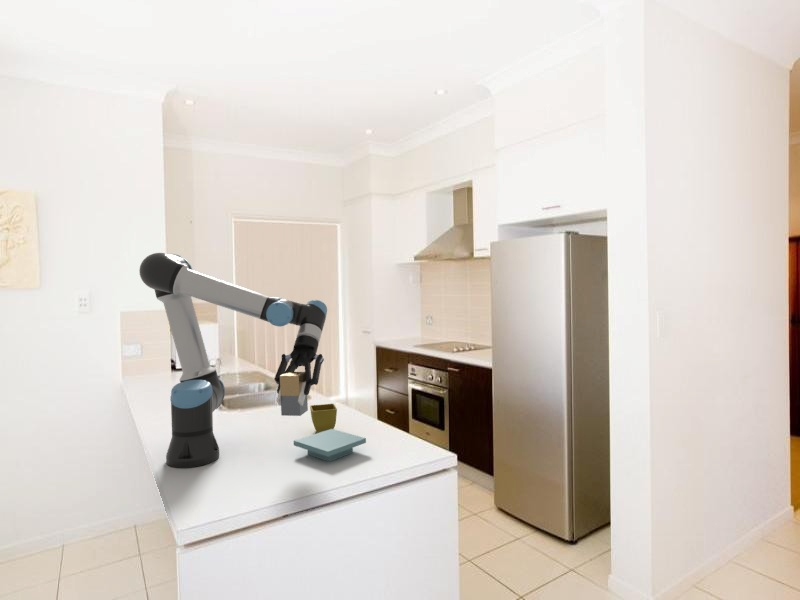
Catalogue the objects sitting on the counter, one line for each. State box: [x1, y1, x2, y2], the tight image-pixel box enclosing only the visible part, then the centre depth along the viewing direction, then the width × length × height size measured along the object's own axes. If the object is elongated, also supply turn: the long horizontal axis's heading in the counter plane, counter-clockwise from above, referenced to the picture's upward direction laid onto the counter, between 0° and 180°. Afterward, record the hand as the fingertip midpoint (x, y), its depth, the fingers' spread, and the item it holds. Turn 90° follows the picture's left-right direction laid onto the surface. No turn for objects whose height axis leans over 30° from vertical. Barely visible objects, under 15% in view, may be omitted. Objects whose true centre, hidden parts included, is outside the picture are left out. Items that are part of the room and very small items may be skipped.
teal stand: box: [293, 428, 367, 462], centre depth 159 cm, size 16×16×4 cm
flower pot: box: [309, 403, 338, 434], centre depth 182 cm, size 9×9×9 cm
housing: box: [280, 371, 309, 417], centre depth 153 cm, size 6×6×12 cm
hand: (289, 403), depth 150 cm, fingers closed on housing, 6 cm apart
